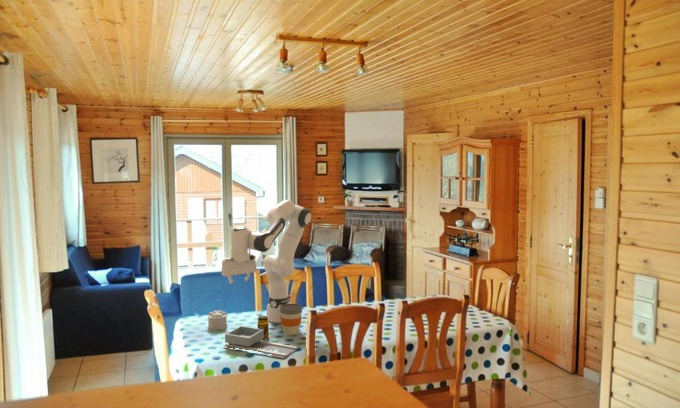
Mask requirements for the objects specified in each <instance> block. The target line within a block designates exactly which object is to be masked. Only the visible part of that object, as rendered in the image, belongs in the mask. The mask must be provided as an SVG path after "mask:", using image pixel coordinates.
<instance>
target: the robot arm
mask: <svg viewBox="0 0 680 408" xmlns="http://www.w3.org/2000/svg"><path fill="white" fill-rule="evenodd" d="M311 220H312V211H311V210H309V209H308V208H306V207H303V206H301V205H299V204H295V203H294V202H293V201H291V200H290V199H284V200H282V201H280V202H279V203H277V204H276V205H275V206H274V207H272V208H271V209H270V210H269V211H268V213H267V222H268V223H269V225H270V226H271V227H270V228H269V229H268V231H266V232H256V231H252V230H250V229H248V227H247V226H237V227H234V228H233V229H232V232H231V236H230V239H231V241H230V244H231V250H230V258H224V259H223V260H222V263H221V272H220V273H221V275H222V276H224V277H227V278H228V281H229V282H228V283H229V284H231V285H232V284H234V279H232V278H233V276H237V275H238V276H239V275H245V274H246V276H245V277H244V282H249V278H250V276H251V273H256V271H257V261H256V258H257V256H256V255H254V254H251V253H249V252H248V250H253V251H258V252H261V253H266V252H268V251H269V250H270V249H271V247H272V246H273V243H274V242H275V240H276V239H277V238H278V236H279V235H280V234H281V233H282V232H283V233H282V235H281V237H280V240H279V242H278V254H277V255H276V254H268V255H266V256H265V257H264V258H263V259H262V266H263V269H264V270H265V272H266V277H267V280H268V288H269V289H268V291H269V292H268V293H269V294H268V295H269V296H268V304H266V314H265V315H264V316H267V317H268V323H278V324H279V323H280V324H281V318H280V316H281V313H280V306H281V305H284V304H292V303H291V301H290V299H291V298H292V295H289V294H288V289H289V287H288V282H287V280H286V278H285V277H290V276H292V275H293V273H294V271H295V264H294V263H295V262H294V259H295V253H296V251H297V248H298V245H299V243H300V241H301V239H302V236H303V234H304V231H305V227H306V226H309V224H310V222H311ZM287 222H288V224H287V226H286V223H287ZM283 230H284V231H283Z"/></svg>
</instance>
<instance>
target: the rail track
mask: <svg viewBox="0 0 680 408" xmlns="http://www.w3.org/2000/svg"><path fill="white" fill-rule="evenodd" d="M223 347H227V348H233V349H235V348H239V349H245V350H253V351H258V352H263V353H268V354H272V355H270V356H272V357H271V358H273V357H274V359H278V360H279V359H280V360H284V359H287V357H289V356H290V355H292V354H293V353H294V352H293V351H294V350H296V349H297V348H299V347H298V346H294V345H287V344H284V343H277V342H272V341H267V340H265V341H261V340H259V341H258V342H256V343H254V344H253V345H251V346H249V347H246V346H242V345H237V344H232V343H231V344H229V343H226V342H225V344H224V346H223ZM258 348H259V349H258ZM260 348H261V349H260ZM263 349H265V350H263ZM276 349H278V350H281V353H280V351H279V353H278V352H273V351H274V350H276ZM270 350H272V351H270ZM278 350H277V351H278ZM297 350H298V349H297ZM297 350H296V351H297ZM292 352H293V353H292ZM291 353H292V354H291Z"/></svg>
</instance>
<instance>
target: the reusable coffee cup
mask: <svg viewBox="0 0 680 408" xmlns="http://www.w3.org/2000/svg"><path fill="white" fill-rule="evenodd" d="M280 313H281V316H280V318H281V323H280V324H281V326H282V333H283V334H284V335H288V336H294V335H298V334H299V332H300V327H301V326H300V325H301V324H302V318H303V316H302V313H303V307H302V305H301V304H298V303H291V304H284V305H281V306H280Z"/></svg>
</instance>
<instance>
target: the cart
mask: <svg viewBox="0 0 680 408" xmlns="http://www.w3.org/2000/svg"><path fill="white" fill-rule="evenodd" d="M263 338H264V330H263V329H258V327H257V328H255V327H250V326H244V325H240V326H237V327H235V328H234V329H232V330H230V331H229V332H226V333H225V334H224V342H225V344H226V343H229V344H231V343H232V344H237V345H242V346H246V347H249V346H251V345H253V344H254V343H256V342H258V341H259V340H261V339H263Z"/></svg>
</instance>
